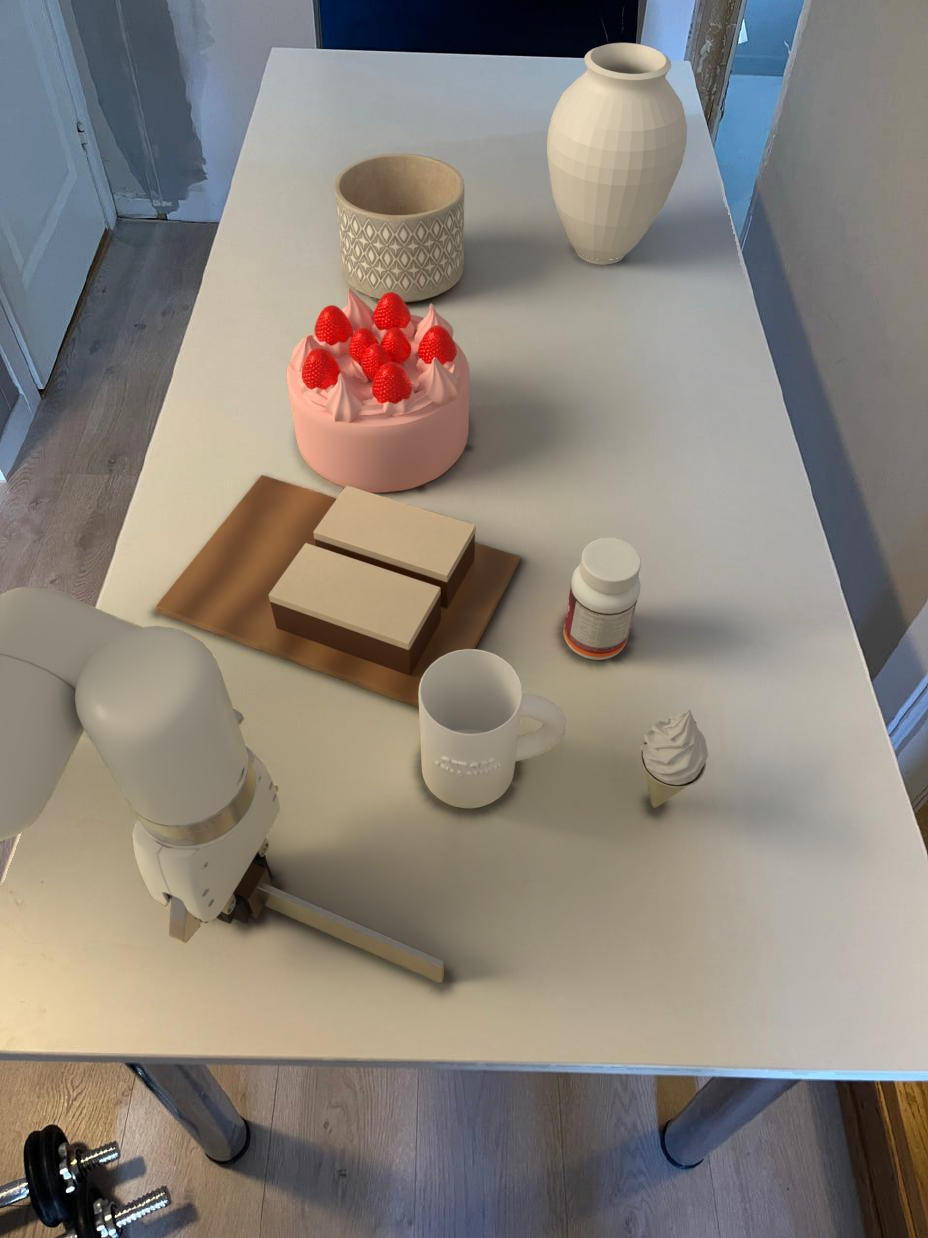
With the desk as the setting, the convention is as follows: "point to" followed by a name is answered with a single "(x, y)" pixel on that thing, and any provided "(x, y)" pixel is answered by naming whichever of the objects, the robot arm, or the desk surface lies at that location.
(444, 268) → the planter
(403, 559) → the cake
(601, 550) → the pill bottle
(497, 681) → the mug
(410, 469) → the cake
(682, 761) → the ice cream cone
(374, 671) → the cake board
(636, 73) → the vase
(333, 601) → the cake
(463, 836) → the desk surface
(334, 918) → the knife
